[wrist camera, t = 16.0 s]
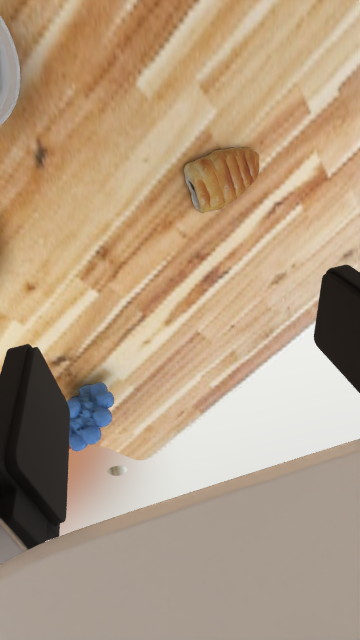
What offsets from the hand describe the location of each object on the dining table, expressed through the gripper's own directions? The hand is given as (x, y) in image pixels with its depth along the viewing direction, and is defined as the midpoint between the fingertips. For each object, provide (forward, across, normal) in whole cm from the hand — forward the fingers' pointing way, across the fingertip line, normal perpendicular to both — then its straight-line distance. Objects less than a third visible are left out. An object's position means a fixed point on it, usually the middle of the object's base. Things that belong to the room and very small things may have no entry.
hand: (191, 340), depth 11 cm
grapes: (+34, +14, +33) cm, 50 cm away
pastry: (+34, -12, +4) cm, 37 cm away
